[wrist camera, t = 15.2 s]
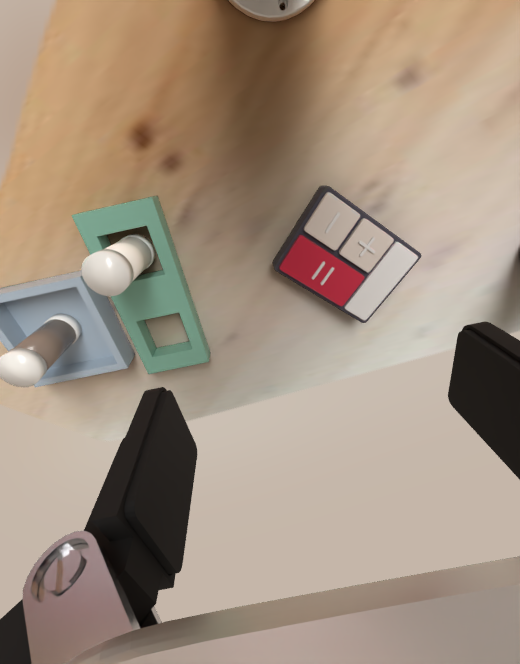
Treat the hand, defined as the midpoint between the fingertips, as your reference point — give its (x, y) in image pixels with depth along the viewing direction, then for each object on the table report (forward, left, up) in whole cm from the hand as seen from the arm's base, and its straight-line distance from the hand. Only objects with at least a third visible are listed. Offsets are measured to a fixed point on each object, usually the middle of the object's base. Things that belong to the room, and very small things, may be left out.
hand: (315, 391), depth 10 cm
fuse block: (+5, -15, -30) cm, 34 cm away
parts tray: (+7, -28, -30) cm, 42 cm away
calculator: (+6, +10, -31) cm, 33 cm away
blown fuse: (+7, -28, -30) cm, 41 cm away
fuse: (0, -15, -30) cm, 34 cm away
